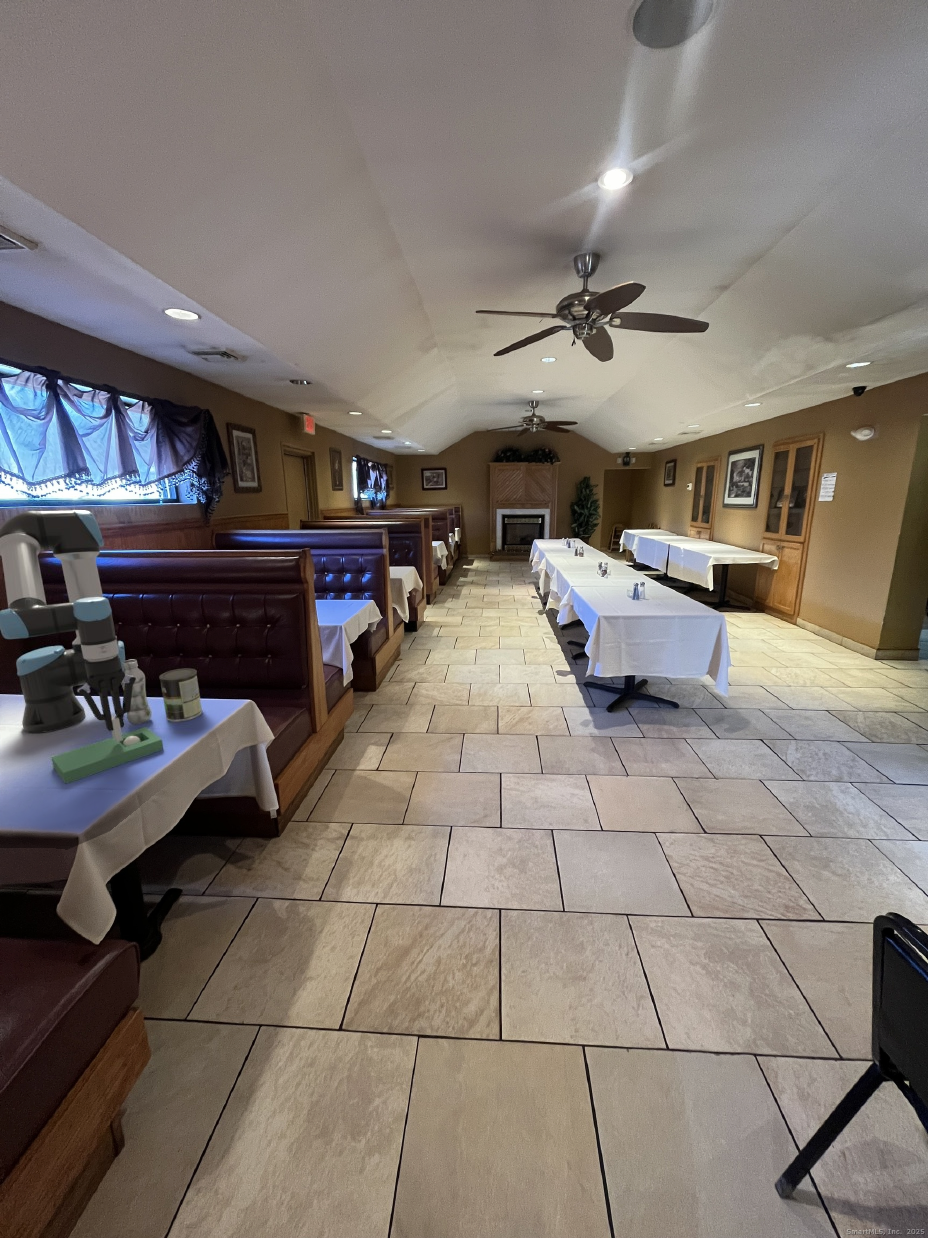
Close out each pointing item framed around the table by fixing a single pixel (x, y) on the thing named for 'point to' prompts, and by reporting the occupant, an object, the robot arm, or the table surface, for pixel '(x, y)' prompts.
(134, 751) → the green
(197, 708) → the coffee can
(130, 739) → the ball
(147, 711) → the plastic bottle
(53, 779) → the table surface
